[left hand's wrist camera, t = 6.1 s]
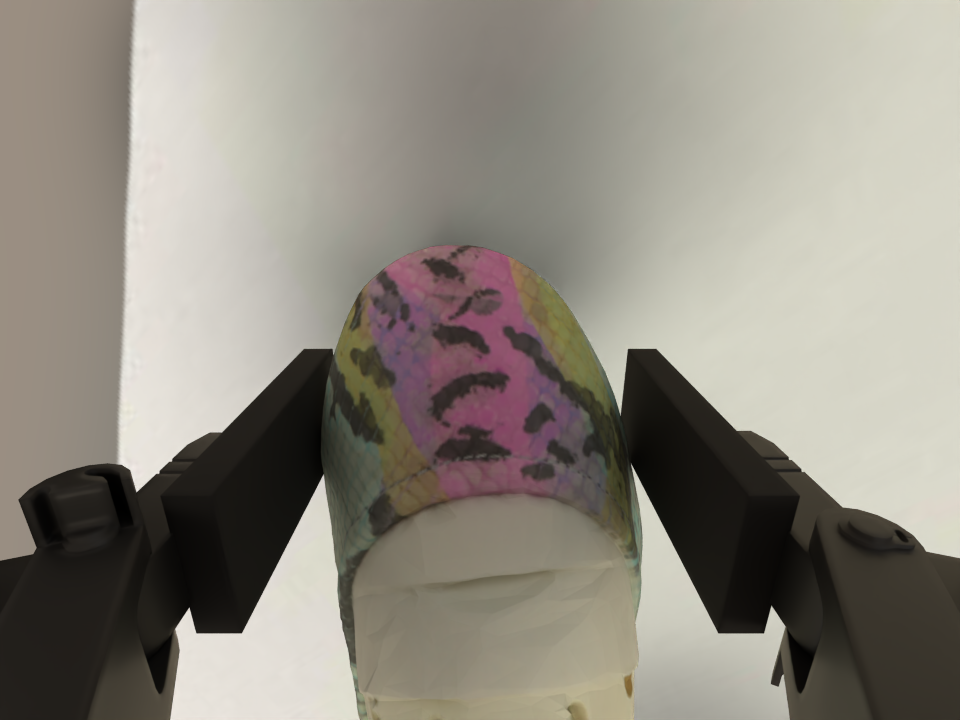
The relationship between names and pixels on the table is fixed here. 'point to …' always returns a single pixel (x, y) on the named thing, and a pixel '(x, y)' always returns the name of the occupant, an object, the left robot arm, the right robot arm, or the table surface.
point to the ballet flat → (479, 499)
